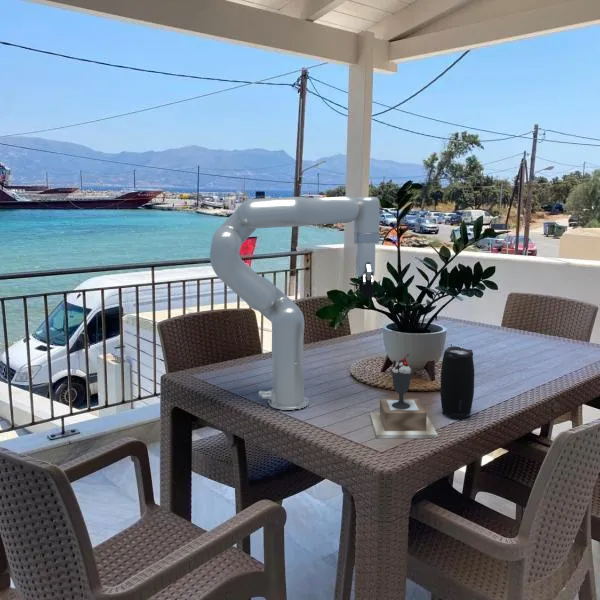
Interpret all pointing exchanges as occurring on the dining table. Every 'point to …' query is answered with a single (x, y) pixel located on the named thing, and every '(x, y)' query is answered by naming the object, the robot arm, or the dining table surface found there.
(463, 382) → the portable speaker
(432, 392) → the dining table surface
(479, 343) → the dining table surface
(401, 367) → the sundae
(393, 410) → the pedestal
